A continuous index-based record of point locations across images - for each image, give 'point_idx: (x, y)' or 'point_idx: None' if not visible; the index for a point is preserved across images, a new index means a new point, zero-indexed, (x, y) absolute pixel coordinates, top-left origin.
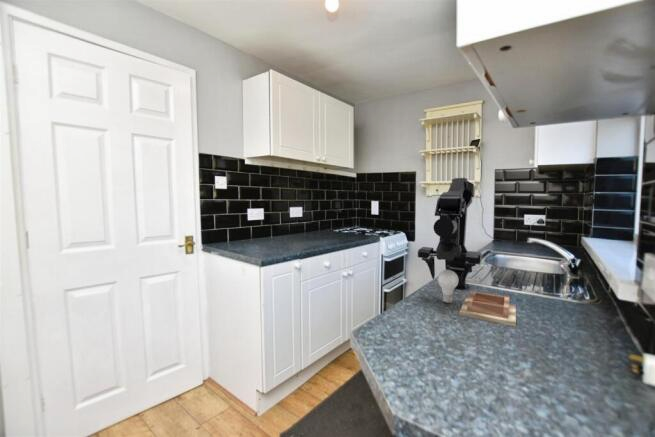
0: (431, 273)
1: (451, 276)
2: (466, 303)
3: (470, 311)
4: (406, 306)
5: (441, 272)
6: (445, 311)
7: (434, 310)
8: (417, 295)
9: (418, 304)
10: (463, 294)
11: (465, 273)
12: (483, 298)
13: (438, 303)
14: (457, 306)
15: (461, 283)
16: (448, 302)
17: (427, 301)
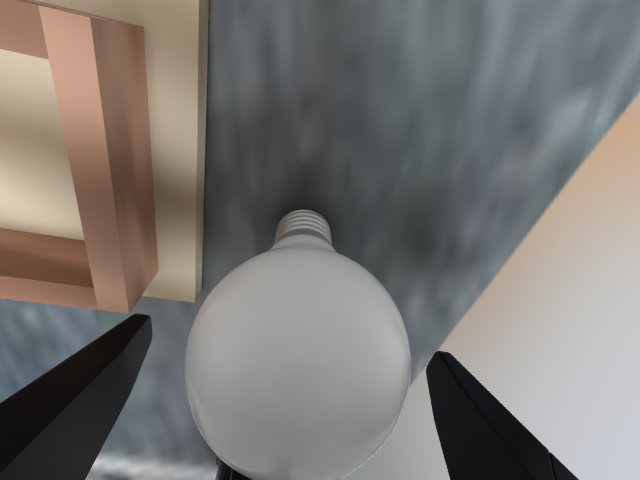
0: (490, 399)
1: (251, 343)
2: (176, 202)
3: (114, 19)
4: (607, 49)
5: (388, 414)
6: (317, 47)
7: (399, 37)
8: (468, 286)
9: (498, 131)
10: None
11: (12, 418)
12: (53, 258)
13: (357, 199)
14: (239, 187)
15: None
16: (295, 211)
17: (424, 210)
